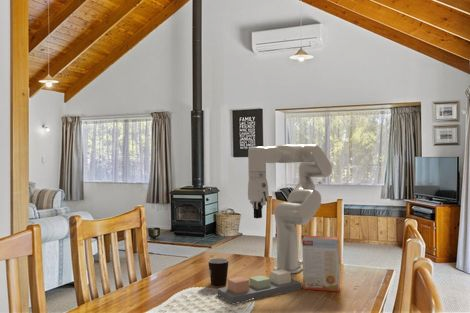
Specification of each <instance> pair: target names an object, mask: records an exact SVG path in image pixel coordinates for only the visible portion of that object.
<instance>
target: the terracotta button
mask: <svg viewBox="0 0 470 313" xmlns="http://www.w3.org/2000/svg"><path fill="white" fill-rule="evenodd" d="M249 282H250V279H247V278H245V277H243V276H236V277H232V278H231V277H230V278H227V287H228V290H229V291H231V292H233V293H235V294H237V293H242V292H247V291H249Z"/></svg>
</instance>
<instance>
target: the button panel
mask: <svg viewBox="0 0 470 313" xmlns="http://www.w3.org/2000/svg"><path fill="white" fill-rule="evenodd" d="M298 290H302V282H300V281H298V280H295V279H293V278H291V282H290V283H286V284H281V285H278V284H275V283H273V282H271V287H266V288H261V289H256V288H254V287H252V286H250V281H249V291H247V292H242V293H237V294H235V293H233V292H231V291H229V290H228V286H222V287H217V290H216V292H217V294H218V295H220V296H221V298H222V297H223V298H224V299H223V298H222V299H223V300H225V299H226V300H225V301H227V300H228V301H227V302H229V303H230V302H231V303H230V304H232V303H235V304H238V303H237V302H240V303H243V302H242V301H244V302H247V301H246V300H249V299H252V298H254V300H257V299H263V298H267V297H271V296H275V295H279V294H285V293H290V292H293V291H298ZM218 295H217V296H218ZM220 296H219V297H220ZM249 301H250V300H249Z"/></svg>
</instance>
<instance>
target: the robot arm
mask: <svg viewBox="0 0 470 313" xmlns="http://www.w3.org/2000/svg"><path fill="white" fill-rule="evenodd" d="M247 152H248V153H247V155H248V158H247V160H248V161H247V162H248V168H247V169H248V182H247V183H248V184H247V199H248V201H249V203H250V204H251V205H252V208H253V219H262V218H263V206H266V205H267V203H268V202H269V201H270V200H269V199H270V197H269V196H270V194H269V185H268V180H267V164H276V163H277V164H288V163H289V164H293V163H294V164H295V163H300V164H299V166H298V175H299V180H298V183H297V184H296V186H295V187H294V188H293V189H292V190H291V192H290V193H289V195H288V197H287V202H283V201H282V202H279V203H278V204H277V205H276V206H275V207H274V210H273V214H274V220H275V225H276V226H275V227H276V265H275V266H273V271H274V270H279V269H283V270H286V271H289V272H291V275H293V274H298V273H301V271H302V267H301V265H303V259H302V260H301V259H299V258H298V252H299V251H298V231H297V227H296V226H295V225H300V226H304V225H307V224H308V223H309V222H310V221H311V220H312V219H313V218H314V216H315V214H316V213H317V212H318V210H319V208H320V206H321V203H322V195H321V193H320V192H319V191H317V190H316V187H315V183H314V181H313V179H312V178H327V177H329V176H331V174H332V169H333V167H332V164H331V162H330V160H329V158H328V157H327V155H326V153H325V152H324V150H323V149H322V148H321V147H320V146H319V145H317V144H313V143H312V144H283V145H282V144H280V145H269V146H268V145H263V146H251V147H249V148H248V151H247Z"/></svg>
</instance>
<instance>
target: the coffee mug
mask: <svg viewBox="0 0 470 313" xmlns="http://www.w3.org/2000/svg"><path fill="white" fill-rule="evenodd" d="M207 262H208V263H207V264H208V269H209V270H208V271H209V277H210V284H211V286H212V287H217V288H222V287H226V286H227V284H228V270H229V259H227V258H224V257H223V258H221V257H217V258H215V257H214V258H210V259H209V260H208V261H207Z"/></svg>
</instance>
